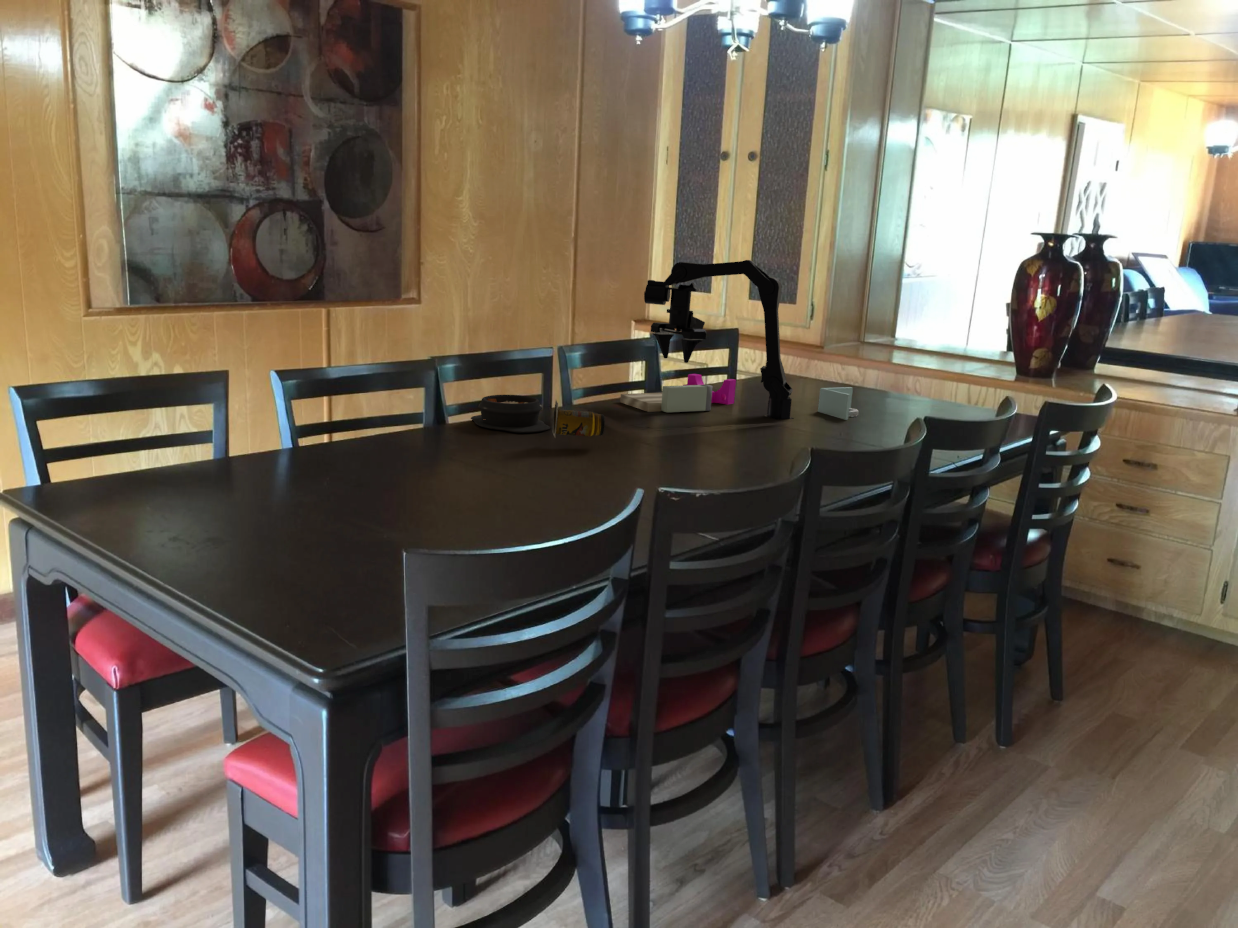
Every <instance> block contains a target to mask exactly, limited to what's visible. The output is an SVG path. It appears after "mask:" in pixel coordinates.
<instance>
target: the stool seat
mask: <svg viewBox="0 0 1238 928" xmlns="http://www.w3.org/2000/svg"><path fill="white" fill-rule="evenodd" d="M619 403H621V404H625V405H627V406H631V407H633V408H637V409H638V410H642V411H645V412H647V413H652V412H662V411H661V405H662V392H645V393H643V392H642V393H641V392H640V393H639V392H638V393H620V401H619Z"/></svg>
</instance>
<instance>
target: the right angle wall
mask: <svg viewBox="0 0 1238 928" xmlns="http://www.w3.org/2000/svg"><path fill="white" fill-rule="evenodd" d="M853 390H854V387H851V386H848V387H846V386H844V387H821V388H820V389H819V397H818V406H817V407H818V409H817V412H818V413H821V414H825V415H828V416H832V417H835V418H838V419H841V420H845V421H847V420H849V418H856V417H858V415H859V410H858V409H857V408H852V398H853Z"/></svg>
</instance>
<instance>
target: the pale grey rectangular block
mask: <svg viewBox="0 0 1238 928" xmlns="http://www.w3.org/2000/svg"><path fill="white" fill-rule="evenodd" d="M712 391H713V385H711V384H704V385H686V384H682V385H663V386H662V391H661V393H662V405H661V411H660V412H664V413H680V412H682V413H683V412H704V411H707V412H708V411H711V410H712V409H711V408H712V403H711V399H712Z"/></svg>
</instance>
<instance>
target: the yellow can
mask: <svg viewBox="0 0 1238 928" xmlns="http://www.w3.org/2000/svg"><path fill="white" fill-rule="evenodd" d="M605 419H606V418H605V415H604V414H602V413H594V412H593V411H584V410H582V411H581V410H572V409H571V410H569V409H568V410H567V409H559V402H558V400H555V404H554V412H553V420H552V434H553V437H554V438H556V435H561V436H575V437H576V436H577V437H578V436H579V437H592V436H600V437H601V436H603V435H604V432H605V427H606V426H605V422H606V421H605Z"/></svg>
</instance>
